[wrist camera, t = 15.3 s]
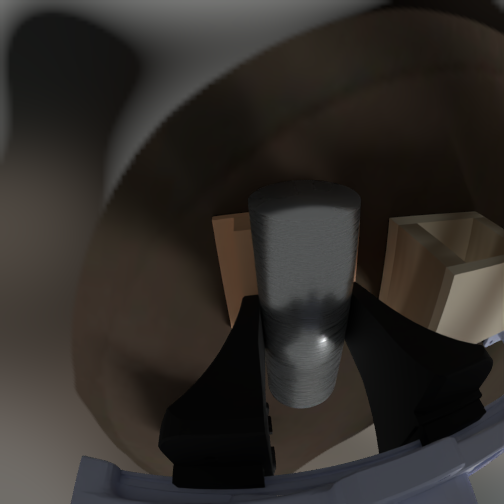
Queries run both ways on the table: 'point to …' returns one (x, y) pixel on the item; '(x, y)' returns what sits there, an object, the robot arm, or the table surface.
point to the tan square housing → (446, 273)
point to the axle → (304, 282)
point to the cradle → (237, 259)
